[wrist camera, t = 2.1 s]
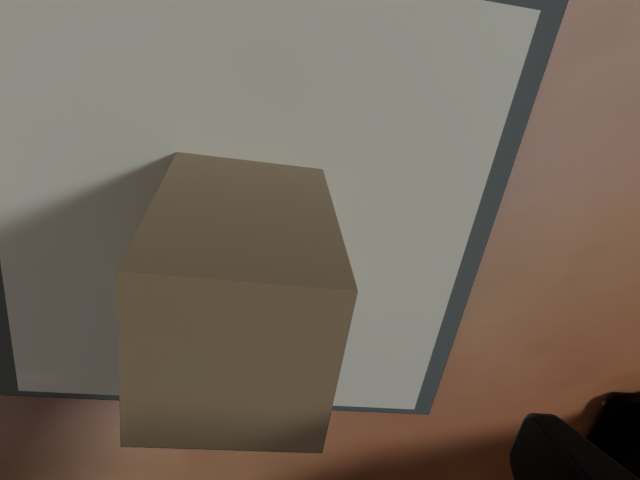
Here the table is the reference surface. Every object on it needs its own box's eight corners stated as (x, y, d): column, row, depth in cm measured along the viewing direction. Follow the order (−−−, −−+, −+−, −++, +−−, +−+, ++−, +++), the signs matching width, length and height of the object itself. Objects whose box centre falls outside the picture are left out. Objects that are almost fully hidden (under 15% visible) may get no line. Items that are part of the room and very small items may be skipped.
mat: (425, 406, 18) (429, 414, 18) (4, 385, 16) (-2, 395, 16) (569, -32, 12) (579, -32, 12) (-81, -157, 10) (-93, -162, 10)
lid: (408, 391, 17) (475, 588, 12) (29, 372, 16) (-103, 593, 10) (524, 8, 12) (745, 36, 6) (-29, -90, 10) (-380, -168, 5)
